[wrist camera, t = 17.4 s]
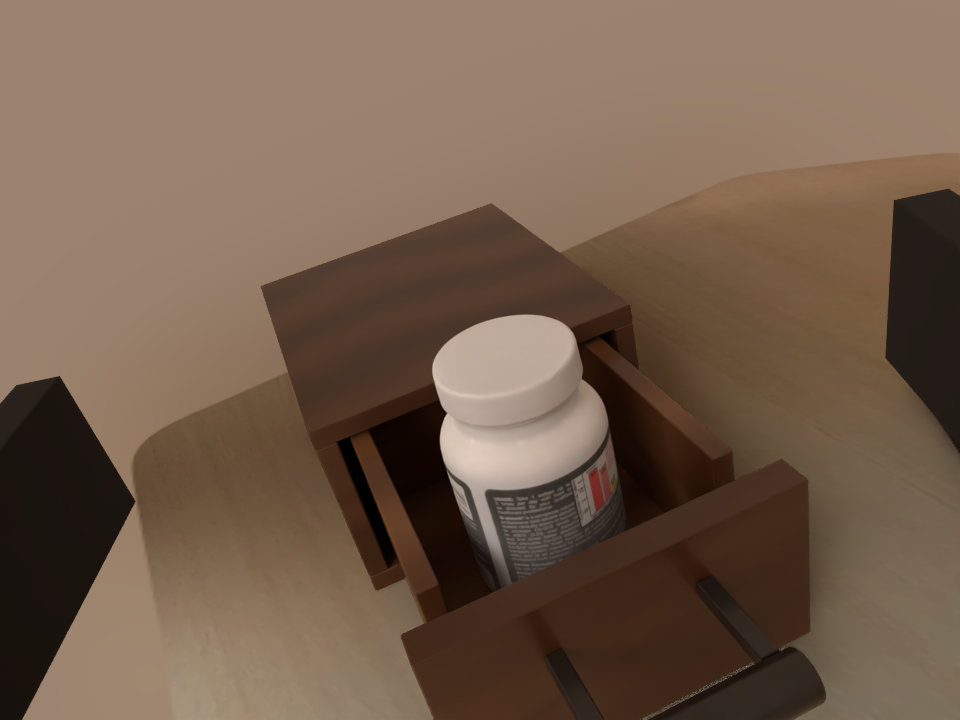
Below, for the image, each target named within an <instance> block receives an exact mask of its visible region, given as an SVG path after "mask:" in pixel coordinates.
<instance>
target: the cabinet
mask: <svg viewBox="0 0 960 720" xmlns="http://www.w3.org/2000/svg"><path fill="white" fill-rule="evenodd" d="M261 289H262V292H263V295H264V298H265V302H266V305H267V308H268V311H269V314H270V317H271V320H272V323H273V326H274V329H275V332H276V335H277V338H278V342H279V345H280V348H281V351H282V354H283V357H284V360H285V363H286V366H287V370H288V373H289V376H290V379H291V382H292V385H293V388H294V391H295V394H296V397H297V400H298V403H299V406H300V410H301V413H302V416H303V419H304V422H305V425H306V428H307V431H308V434H309V436H310V439H311V441H312V443H313V446H314V448H315V450H316V453H317V455H318V457H319V460H320V462H321V464H322V467H323V469H324V471H325V474H326V476H327V478H328V481H329V483H330V485H331V488H332V490H333V492H334V495H335V497H336V499H337V502H338V504H339V506H340V509H341V511H342V513H343V516H344V518H345V520H346V523H347V525H348V527H349V530H350V532H351V534H352V537H353V539H354V541H355V544H356V546H357V548H358V551H359V553H360V555H361V558H362V560H363V562H364V565H365V567H366V569H367V572H368V574H369V576H370V579H371V581H372V583H373V586H374V588H375V590H379V589H381V588H383V587H385V586H388V585H390V584H392V583H394V582H397V581H399V580H401V579H403V578H406V577H405V575H404V573H403V570H402V568H401V565H400V563H399V560H398V558H397V555H396V553H395V550H394V548H393V545H392V543H391V541H390V538H389V536H388V533H387V531H386V528H385V526H384V523H383V521H382V518H381V516H380V513H379V511H378V508H377V506H376V503H375V501H374V498H373V496H372V493H371V491H370V488H369V486H368V483H367V481H366V478H365V476H364V473H363V471H362V468H361V465H360V463H359V460H358V458H357V455H356V453H355V450H354V448H353V445H352V443H351V440H350V438H349V437H350V436H352V435H355V434H357V433H359V432H362V431H364V430H367V429H369V428H372V427H374V426H377V425H379V424H382V423H384V422H387V421H389V420H392V419H394V418H397V417H399V416H401V415H404V414H406V413H409V412H411V411H414V410H416V409H419V408H421V407H424V406H426V405H429V404H431V403H434V402H436V401H438V400H440V399H439V396H438V393H437V390H436V386H435V382H434V379H433V374H432V367H433V362H434V359H435V357H436V355H437V354H438V352H439V351H440V350H441V348H442V347H443V346H444V345H445V344H446V343H447V342H448V341H449V340H450V339H452V338H453V337H454V336H456V335H457V334H459V333H461V332H462V331H464V330H466V329H468V328H470V327H472V326H474V325H477V324H479V323H482V322H485V321H488V320H492V319H495V318H500V317H506V316H512V315H540V316H545V317H549V318H552V319H555V320H558V321H560V322H562V323H563V324H565V325H566V326H568V327H569V329H570V330H571V331H572V332H573V334H574V336H575V339H576V342H577V344H579V343H582V342H584V341H586V340H589V339H591V338H594V337H596V336H599V337H600V338H601V339H602V340H604V341H605V342H606V343H607V344H608V345H610V346H611V347H612V348H613V349H614V350H615V351H617V352H618V353H619V354H620V355H621V356H622V357H624V358H625V359H626V360H627V361H628V362H629V363H631V364H632V365H633V366H634V367H635V368H636V369H638V370H639V366H638V359H637V353H636V346H635V339H634V332H633V325H632V315H631V308H630V304H629V303H627V302H626V301H625V300H623V299H622V298H621V297H619V296H618V295H617V294H615V293H614V292H612V291H611V290H610V289H608V288H607V287H606V286H604V285H603V284H601V283H600V282H599V281H597V280H596V279H595V278H593V277H592V276H591V275H589V274H588V273H586V272H585V271H584V270H582V269H581V268H580V267H578V266H577V265H575V264H574V263H573V262H571V261H570V260H569V259H567V258H566V257H565V256H563V255H562V254H560V253H559V252H558V251H556V250H555V249H554V248H552V247H551V246H549V245H548V244H547V243H545V242H544V241H543V240H541V239H540V238H538V237H537V236H536V235H534V234H533V233H532V232H530V231H529V230H528V229H526V228H525V227H523V226H522V225H521V224H519V223H518V222H516V221H515V220H514V219H512V218H511V217H509V216H508V215H507V214H506V213H504V212H503V211H502V210H500V209H499V208H497V207H496V206H495V205H493V204H488V205H486V206H483V207H480V208H477V209H474V210H472V211H469V212H466V213H464V214H461V215H458V216H455V217H452V218H449V219H447V220H444V221H441V222H438V223H436V224H433V225H430V226H427V227H424V228H421V229H419V230H416V231H413V232H410V233H408V234H405V235H402V236H399V237H396V238H394V239H391V240H388V241H385V242H382V243H380V244H377V245H374V246H371V247H369V248H366V249H363V250H360V251H358V252H355V253H352V254H349V255H346V256H343V257H341V258H338V259H335V260H332V261H330V262H327V263H324V264H321V265H318V266H316V267H313V268H310V269H307V270H305V271H302V272H299V273H296V274H294V275H291V276H288V277H285V278H282V279H279V280H277V281H274V282H271V283H268V284H265V285H263V286H261Z"/></svg>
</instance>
